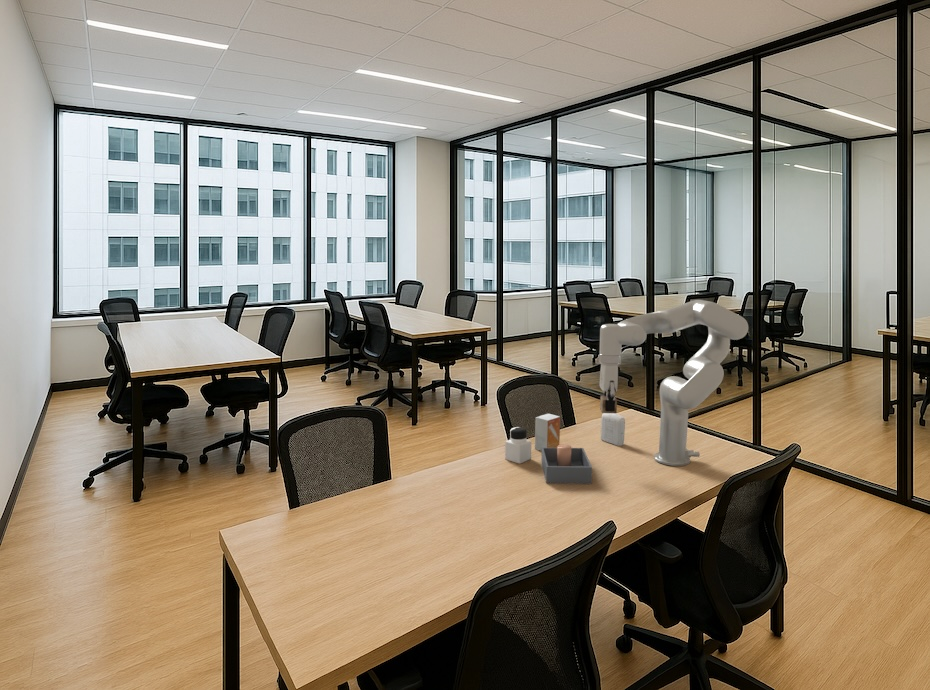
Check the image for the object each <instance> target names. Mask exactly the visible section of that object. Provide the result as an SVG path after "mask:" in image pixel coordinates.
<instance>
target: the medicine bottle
mask: <svg viewBox="0 0 930 690" xmlns="http://www.w3.org/2000/svg"><path fill="white" fill-rule="evenodd" d="M509 432H510V433H509V435H510V436H509V439H508V440H506V441H505V442H504V444H505V445H504V452H505V453H504V458H505V459H504V460H506V461H509V462H513V463H516V464H522V463H525V462H527V461H529V460H531V459H532V441H531V440H530V439H529V440H528V439H527V429H526V428H525V427H521V426H516V427H511V429H510V430H509Z"/></svg>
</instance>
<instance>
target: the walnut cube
mask: <svg viewBox="0 0 930 690" xmlns="http://www.w3.org/2000/svg"><path fill="white" fill-rule="evenodd" d="M599 399H600V401H599V403H600V404H599V410H600V412H601V413H602V414H603V413H616V414H618V413H617V409H618V407H617V406H618V399H617V398H616V397H615V411H605V401H606V396H603V395H600V398H599Z"/></svg>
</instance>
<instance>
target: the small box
mask: <svg viewBox="0 0 930 690" xmlns="http://www.w3.org/2000/svg"><path fill="white" fill-rule="evenodd" d="M534 426H535V427H534V428H535V429H534V430H535V431H534V449H535V450H537V451H540V452H542V448H557V446H558V445H560V441H561V440H560V438H561V437H560V436H561V435H560V434H561V416H560V415H555V414H551V413H545V414H541V415H539V416H536V417H535V424H534Z"/></svg>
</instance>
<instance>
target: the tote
mask: <svg viewBox="0 0 930 690" xmlns="http://www.w3.org/2000/svg"><path fill="white" fill-rule="evenodd" d="M540 458H541V462H540V463H541V466H542V472H543V475H544V481H545V482H546V484H572V483H577V484H578V483H579V485H580V484H583V485H584V484H589V485H591V484H592V480H593V479H592V478H593V466H592V464H591V462H590V460H589V458H588V455H587V453H586V451H585V448H584V447H571V466H557V448H542V451H541V457H540Z"/></svg>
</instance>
